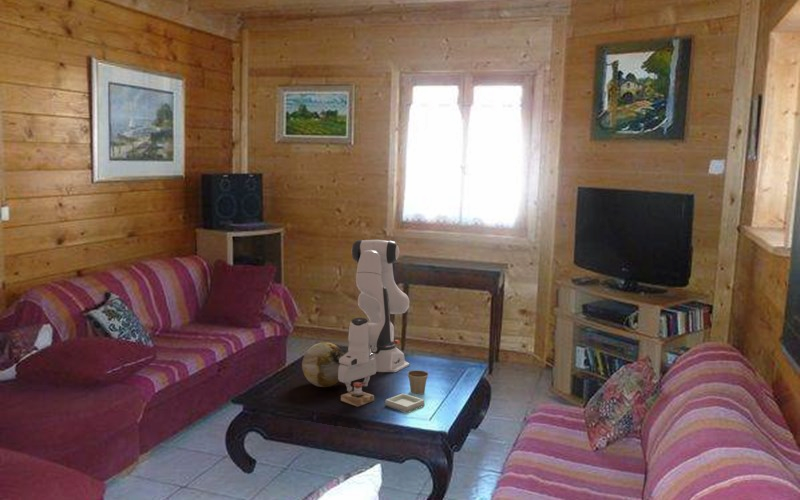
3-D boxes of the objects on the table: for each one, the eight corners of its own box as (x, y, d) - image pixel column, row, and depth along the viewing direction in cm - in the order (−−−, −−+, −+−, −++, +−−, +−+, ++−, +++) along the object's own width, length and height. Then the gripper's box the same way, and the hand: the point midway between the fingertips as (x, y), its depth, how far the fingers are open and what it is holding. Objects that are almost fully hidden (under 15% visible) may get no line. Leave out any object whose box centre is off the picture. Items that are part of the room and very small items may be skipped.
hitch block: (357, 395, 296) (357, 389, 295) (374, 400, 289) (374, 395, 289) (340, 400, 288) (340, 395, 288) (357, 406, 282) (357, 401, 281)
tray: (403, 398, 293) (403, 393, 293) (424, 405, 285) (424, 399, 285) (385, 405, 284) (385, 399, 284) (406, 412, 277) (406, 406, 276)
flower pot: (413, 396, 296) (413, 377, 295) (403, 390, 304) (403, 371, 303) (431, 394, 300) (432, 375, 299) (421, 387, 308) (422, 369, 307)
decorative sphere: (338, 395, 295) (339, 350, 292) (295, 390, 299) (296, 346, 296) (350, 381, 314) (351, 339, 312) (310, 377, 318) (310, 335, 315)
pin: (357, 398, 292) (357, 381, 291) (364, 400, 289) (364, 383, 288) (350, 400, 289) (350, 383, 288) (357, 403, 286) (358, 386, 285)
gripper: (369, 351, 296) (368, 381, 298) (336, 359, 281) (335, 392, 282) (380, 353, 292) (379, 385, 294) (346, 362, 277) (345, 395, 278)
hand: (357, 388), depth 288 cm, fingers open, 8 cm apart
